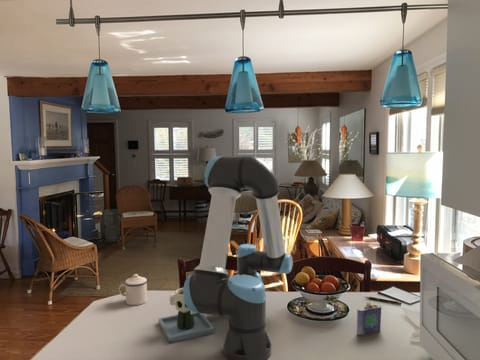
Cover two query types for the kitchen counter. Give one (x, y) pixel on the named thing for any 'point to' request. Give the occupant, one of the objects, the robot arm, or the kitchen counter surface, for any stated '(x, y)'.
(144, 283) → the teacup with lid
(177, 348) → the kitchen counter surface
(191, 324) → the character mug
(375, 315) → the flask
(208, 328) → the tray
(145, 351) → the kitchen counter surface
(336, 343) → the kitchen counter surface
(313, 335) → the kitchen counter surface
